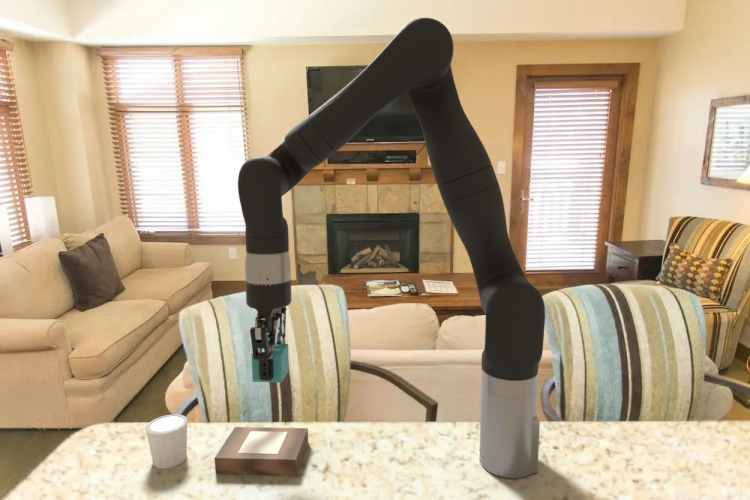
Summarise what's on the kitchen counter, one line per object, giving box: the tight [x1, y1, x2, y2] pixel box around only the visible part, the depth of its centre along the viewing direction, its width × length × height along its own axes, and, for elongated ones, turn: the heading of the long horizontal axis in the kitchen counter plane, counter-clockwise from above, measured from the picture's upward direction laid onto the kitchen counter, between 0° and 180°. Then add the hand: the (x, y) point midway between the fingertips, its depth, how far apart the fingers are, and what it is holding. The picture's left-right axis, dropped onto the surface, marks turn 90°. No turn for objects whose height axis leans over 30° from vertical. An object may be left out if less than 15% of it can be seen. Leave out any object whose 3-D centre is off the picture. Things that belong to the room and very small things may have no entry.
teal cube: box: [251, 343, 290, 384], centre depth 84 cm, size 5×5×5 cm
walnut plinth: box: [214, 426, 309, 477], centre depth 86 cm, size 14×10×3 cm
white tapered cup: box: [145, 413, 188, 469], centre depth 86 cm, size 7×7×7 cm
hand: (271, 372), depth 84 cm, fingers closed on teal cube, 5 cm apart
